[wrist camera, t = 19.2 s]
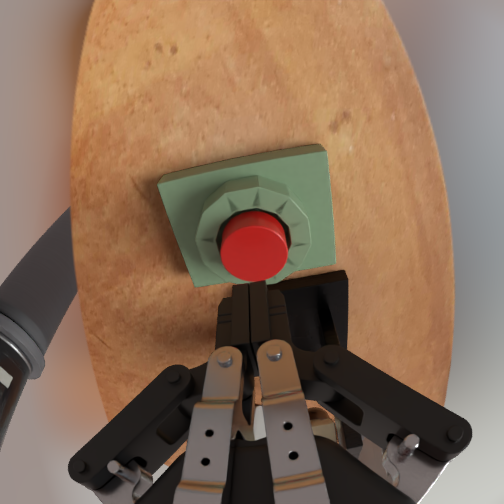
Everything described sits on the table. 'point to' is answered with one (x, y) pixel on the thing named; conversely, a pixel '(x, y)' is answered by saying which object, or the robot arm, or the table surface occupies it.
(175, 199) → the button block
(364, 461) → the cup
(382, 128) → the table surface
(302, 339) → the bracket
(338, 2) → the table surface
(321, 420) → the lever
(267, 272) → the button
